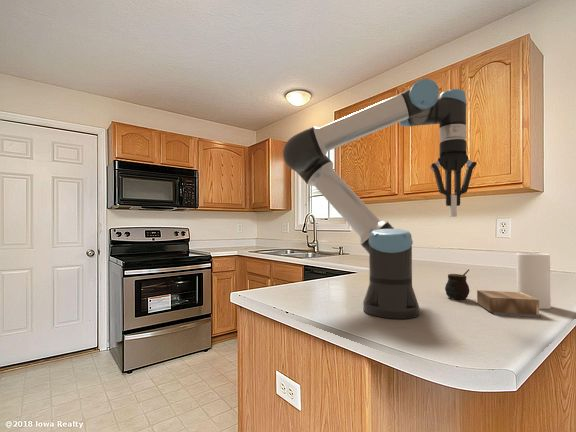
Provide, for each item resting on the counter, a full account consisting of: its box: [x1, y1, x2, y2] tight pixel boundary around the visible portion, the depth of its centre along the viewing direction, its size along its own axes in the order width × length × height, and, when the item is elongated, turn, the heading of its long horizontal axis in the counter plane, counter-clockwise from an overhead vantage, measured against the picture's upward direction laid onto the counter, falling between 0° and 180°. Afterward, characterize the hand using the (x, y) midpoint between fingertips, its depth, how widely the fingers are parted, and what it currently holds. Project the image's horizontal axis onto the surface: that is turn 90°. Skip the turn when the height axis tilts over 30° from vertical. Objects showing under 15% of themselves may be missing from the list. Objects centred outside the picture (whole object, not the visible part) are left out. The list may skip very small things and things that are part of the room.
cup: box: [516, 252, 552, 310], centre depth 98 cm, size 8×8×16 cm
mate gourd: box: [444, 269, 470, 301], centre depth 107 cm, size 7×8×10 cm
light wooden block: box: [476, 289, 540, 315], centre depth 93 cm, size 4×10×12 cm
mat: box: [491, 312, 542, 318], centre depth 93 cm, size 11×13×1 cm
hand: (453, 216), depth 98 cm, fingers closed
